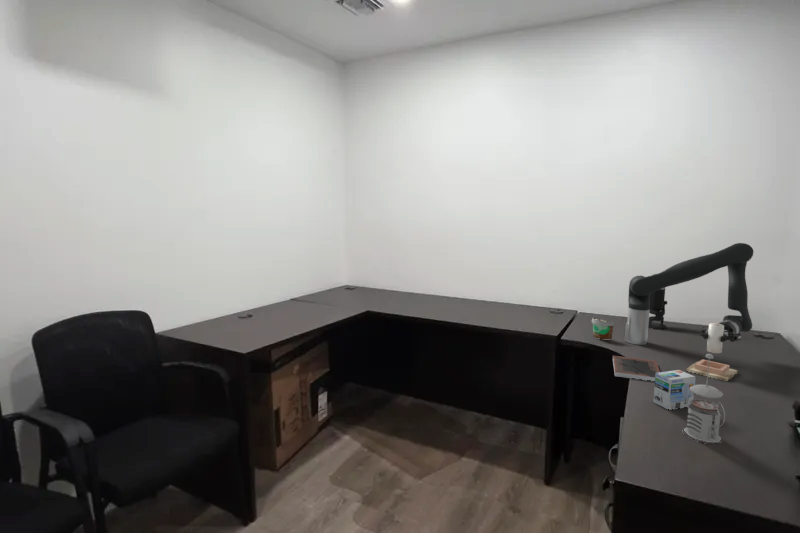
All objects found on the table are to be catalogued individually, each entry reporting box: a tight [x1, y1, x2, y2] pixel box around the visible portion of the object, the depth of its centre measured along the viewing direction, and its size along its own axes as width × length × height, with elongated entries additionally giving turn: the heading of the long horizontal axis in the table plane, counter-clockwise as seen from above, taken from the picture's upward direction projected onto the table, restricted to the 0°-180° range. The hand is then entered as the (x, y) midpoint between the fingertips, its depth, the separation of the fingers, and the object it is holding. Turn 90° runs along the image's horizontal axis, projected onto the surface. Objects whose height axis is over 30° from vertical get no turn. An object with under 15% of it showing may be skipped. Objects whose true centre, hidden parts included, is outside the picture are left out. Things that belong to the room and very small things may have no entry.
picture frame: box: [612, 355, 661, 382], centre depth 183 cm, size 16×2×22 cm
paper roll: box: [706, 322, 724, 354], centre depth 178 cm, size 5×5×11 cm
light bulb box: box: [653, 369, 696, 411], centre depth 150 cm, size 11×7×11 cm, turn 106°
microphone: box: [648, 273, 668, 330], centre depth 247 cm, size 13×12×30 cm
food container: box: [591, 316, 616, 340], centre depth 226 cm, size 12×6×10 cm, turn 25°
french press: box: [683, 353, 726, 442], centre depth 128 cm, size 10×12×25 cm
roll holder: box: [685, 358, 739, 382], centre depth 180 cm, size 14×14×3 cm
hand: (713, 338), depth 176 cm, fingers closed on paper roll, 5 cm apart
